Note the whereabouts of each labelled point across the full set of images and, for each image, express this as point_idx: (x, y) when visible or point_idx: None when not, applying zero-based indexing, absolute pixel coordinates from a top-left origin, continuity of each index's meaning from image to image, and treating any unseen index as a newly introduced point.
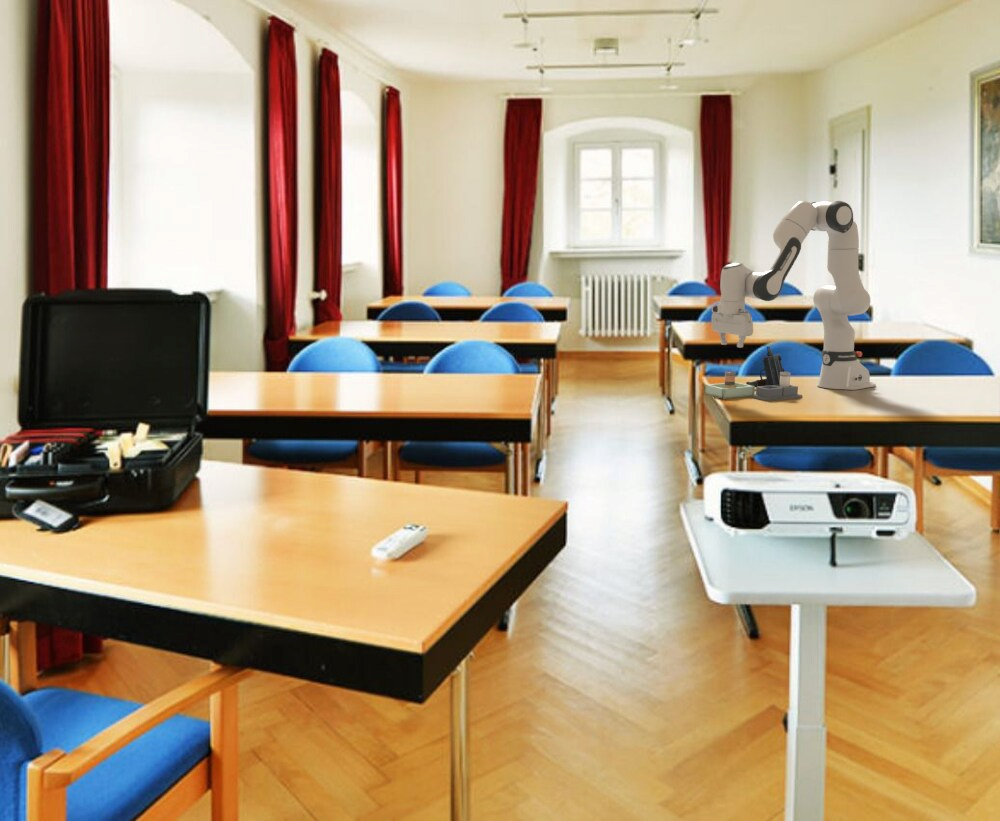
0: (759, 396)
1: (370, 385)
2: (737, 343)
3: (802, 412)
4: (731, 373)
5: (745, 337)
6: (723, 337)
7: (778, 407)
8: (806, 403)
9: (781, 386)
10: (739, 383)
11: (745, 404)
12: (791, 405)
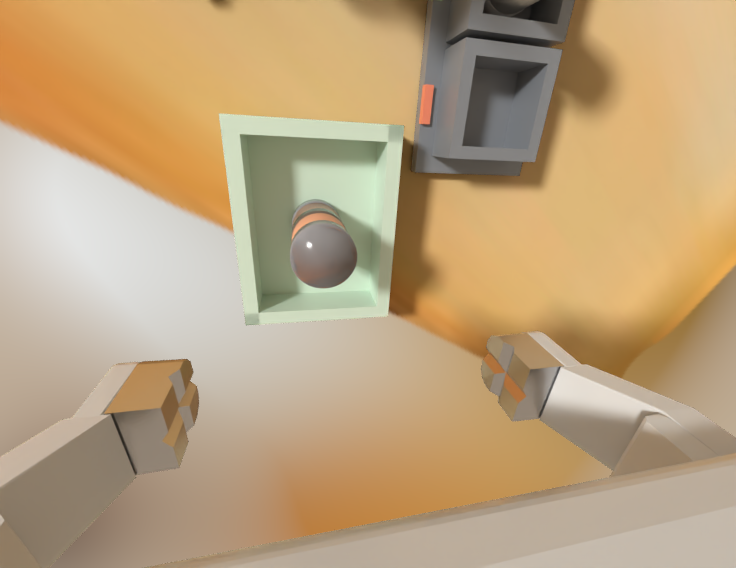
0: (469, 172)
1: None
2: (515, 409)
3: (694, 215)
4: (353, 267)
5: (703, 419)
6: (70, 486)
7: (603, 225)
8: (648, 53)
9: (529, 4)
10: (281, 134)
11: (499, 289)
12: (620, 153)
